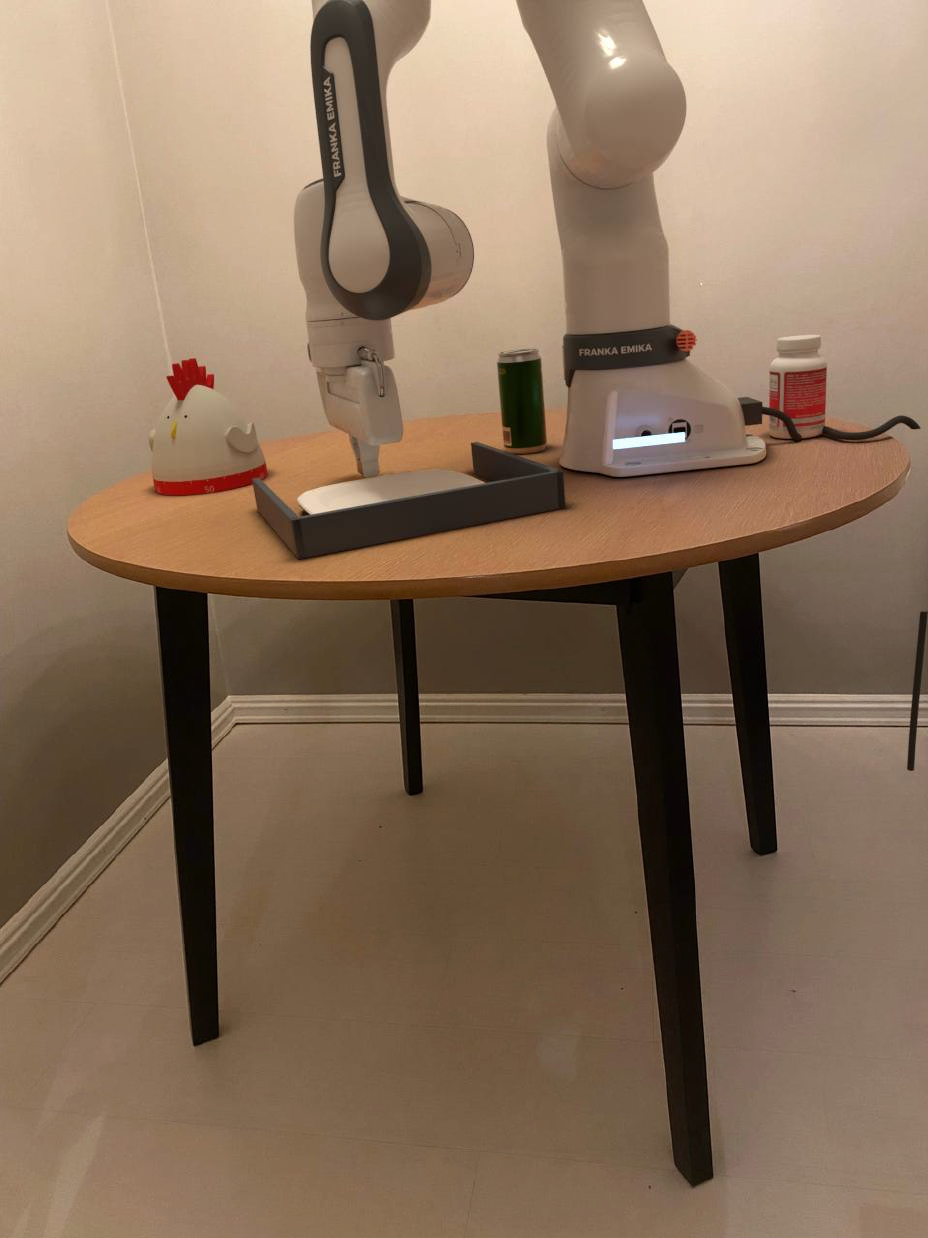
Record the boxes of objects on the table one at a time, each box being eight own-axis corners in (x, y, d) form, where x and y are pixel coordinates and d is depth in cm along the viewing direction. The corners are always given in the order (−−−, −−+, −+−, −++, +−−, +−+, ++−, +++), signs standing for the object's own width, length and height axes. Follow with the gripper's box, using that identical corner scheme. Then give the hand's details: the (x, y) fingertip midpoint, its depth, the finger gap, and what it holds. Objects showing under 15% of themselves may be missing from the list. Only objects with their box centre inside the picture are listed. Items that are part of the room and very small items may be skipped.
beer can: (521, 456, 114) (513, 354, 110) (495, 451, 118) (487, 353, 114) (556, 448, 116) (549, 348, 112) (529, 444, 121) (522, 348, 117)
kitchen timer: (131, 495, 114) (103, 369, 109) (198, 470, 126) (175, 356, 121) (227, 494, 110) (203, 362, 104) (287, 468, 121) (268, 348, 116)
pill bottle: (835, 432, 109) (839, 333, 105) (803, 441, 106) (805, 340, 102) (790, 428, 114) (792, 333, 110) (757, 437, 110) (758, 340, 107)
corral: (257, 511, 100) (251, 478, 99) (479, 472, 107) (477, 441, 106) (298, 559, 80) (291, 519, 79) (565, 507, 88) (563, 470, 87)
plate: (288, 506, 100) (286, 490, 100) (446, 478, 106) (445, 463, 105) (328, 544, 84) (325, 525, 84) (512, 508, 90) (510, 491, 89)
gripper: (409, 345, 91) (425, 486, 95) (357, 339, 109) (372, 457, 114) (346, 353, 89) (365, 496, 94) (303, 345, 107) (321, 465, 112)
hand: (368, 475), depth 104 cm, fingers closed
